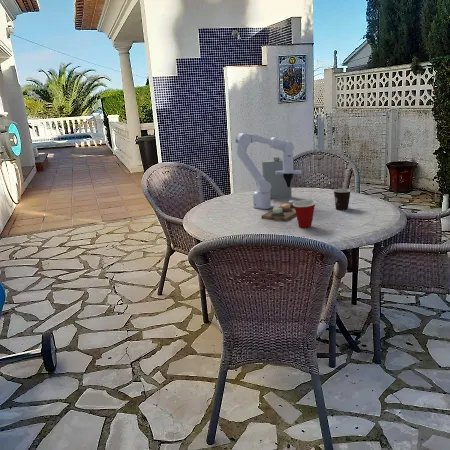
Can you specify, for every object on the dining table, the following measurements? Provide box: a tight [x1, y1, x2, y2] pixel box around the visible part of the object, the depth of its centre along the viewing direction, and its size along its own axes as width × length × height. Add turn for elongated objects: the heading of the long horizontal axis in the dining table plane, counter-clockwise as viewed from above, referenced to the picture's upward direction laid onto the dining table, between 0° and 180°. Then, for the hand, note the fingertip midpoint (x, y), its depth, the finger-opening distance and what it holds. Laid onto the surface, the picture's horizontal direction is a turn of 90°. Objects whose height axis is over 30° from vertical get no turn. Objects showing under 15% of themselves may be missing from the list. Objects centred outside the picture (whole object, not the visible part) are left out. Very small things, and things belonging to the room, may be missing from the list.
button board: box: [261, 205, 297, 222], centre depth 226 cm, size 14×27×2 cm, turn 145°
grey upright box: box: [261, 156, 292, 199], centre depth 260 cm, size 17×5×25 cm, turn 81°
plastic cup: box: [293, 199, 317, 229], centre depth 200 cm, size 11×11×12 cm
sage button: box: [272, 207, 282, 214], centre depth 218 cm, size 5×5×2 cm
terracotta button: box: [280, 203, 290, 210], centre depth 225 cm, size 5×5×2 cm
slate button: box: [288, 199, 298, 206], centre depth 232 cm, size 5×5×2 cm
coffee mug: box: [333, 188, 352, 211], centre depth 228 cm, size 12×9×10 cm
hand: (288, 186), depth 240 cm, fingers closed
